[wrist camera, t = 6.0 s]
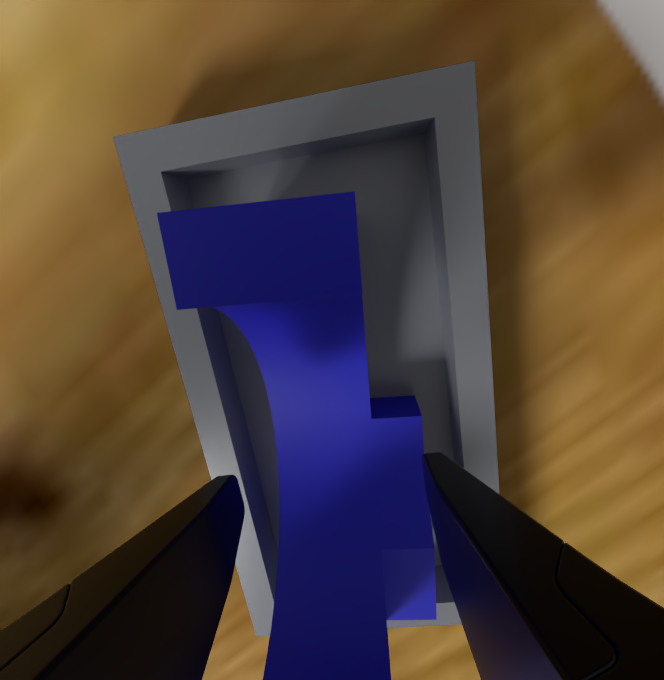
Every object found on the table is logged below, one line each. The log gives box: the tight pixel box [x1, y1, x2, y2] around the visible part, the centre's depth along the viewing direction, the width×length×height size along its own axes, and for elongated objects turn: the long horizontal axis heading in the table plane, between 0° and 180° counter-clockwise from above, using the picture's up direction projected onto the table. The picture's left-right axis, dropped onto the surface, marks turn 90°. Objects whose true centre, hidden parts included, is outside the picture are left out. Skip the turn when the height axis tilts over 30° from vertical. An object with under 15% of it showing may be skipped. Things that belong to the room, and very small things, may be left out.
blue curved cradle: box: [157, 191, 437, 680], centre depth 10 cm, size 12×4×6 cm, turn 6°
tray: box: [113, 60, 499, 636], centre depth 12 cm, size 17×9×2 cm, turn 10°
